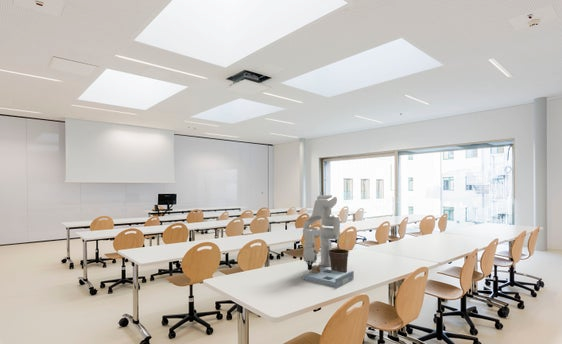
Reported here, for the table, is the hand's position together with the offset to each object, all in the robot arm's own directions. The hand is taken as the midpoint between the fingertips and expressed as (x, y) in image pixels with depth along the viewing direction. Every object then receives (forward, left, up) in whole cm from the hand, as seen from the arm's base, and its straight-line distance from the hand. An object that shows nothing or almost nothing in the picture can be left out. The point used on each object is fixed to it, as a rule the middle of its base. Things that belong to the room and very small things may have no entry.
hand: (309, 269), depth 236 cm
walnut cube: (0, +5, -1) cm, 6 cm away
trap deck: (0, +17, -4) cm, 17 cm away
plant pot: (-22, +12, -4) cm, 26 cm away
